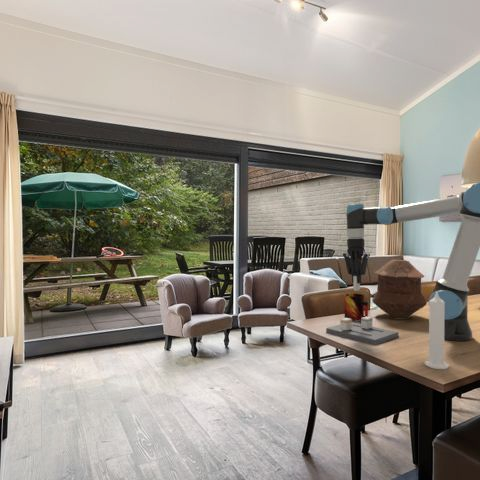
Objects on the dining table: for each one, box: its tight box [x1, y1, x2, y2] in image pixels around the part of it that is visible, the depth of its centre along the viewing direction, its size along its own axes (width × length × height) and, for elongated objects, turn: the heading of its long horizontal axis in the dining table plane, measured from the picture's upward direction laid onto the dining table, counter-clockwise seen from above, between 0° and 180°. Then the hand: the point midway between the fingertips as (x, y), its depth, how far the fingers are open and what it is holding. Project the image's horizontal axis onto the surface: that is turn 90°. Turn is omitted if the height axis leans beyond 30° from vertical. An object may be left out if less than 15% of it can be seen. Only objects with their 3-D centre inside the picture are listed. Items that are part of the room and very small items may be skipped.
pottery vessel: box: [371, 259, 427, 320], centre depth 198 cm, size 26×26×30 cm
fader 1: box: [339, 317, 353, 330], centre depth 166 cm, size 3×4×4 cm
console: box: [325, 321, 399, 346], centre depth 165 cm, size 24×18×2 cm
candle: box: [424, 291, 450, 370], centre depth 126 cm, size 7×7×25 cm
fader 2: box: [360, 316, 374, 329], centre depth 168 cm, size 3×4×4 cm
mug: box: [344, 293, 369, 321], centre depth 195 cm, size 10×14×12 cm
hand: (356, 290), depth 172 cm, fingers closed
